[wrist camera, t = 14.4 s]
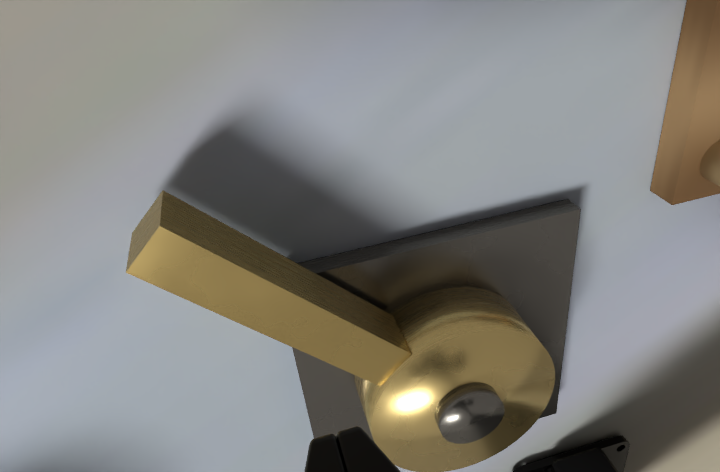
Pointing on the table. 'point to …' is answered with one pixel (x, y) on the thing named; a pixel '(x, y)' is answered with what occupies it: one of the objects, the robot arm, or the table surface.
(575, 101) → the table surface
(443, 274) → the base
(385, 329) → the brass door lever
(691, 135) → the peg cradle
